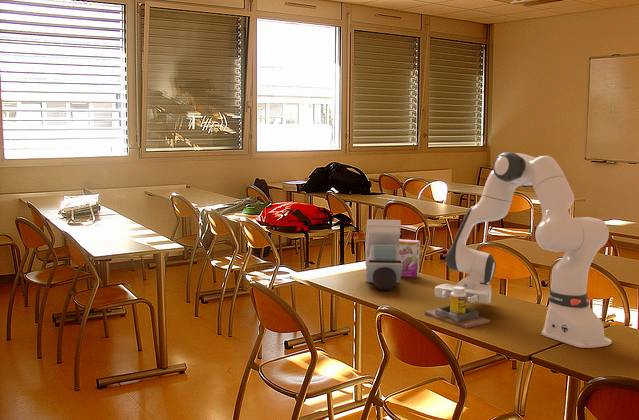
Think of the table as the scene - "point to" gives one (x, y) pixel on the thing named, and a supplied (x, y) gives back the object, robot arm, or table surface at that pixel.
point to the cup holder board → (458, 317)
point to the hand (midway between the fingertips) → (456, 298)
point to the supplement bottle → (458, 301)
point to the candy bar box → (409, 257)
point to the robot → (383, 253)
